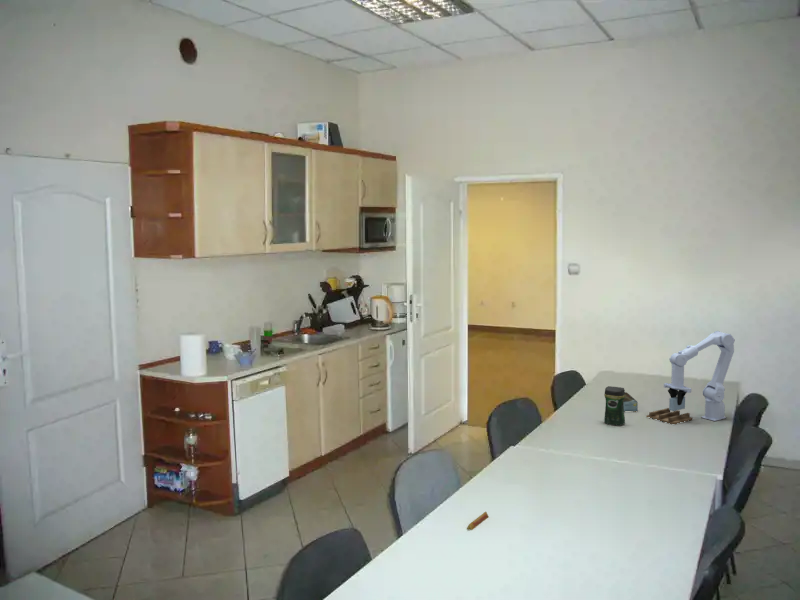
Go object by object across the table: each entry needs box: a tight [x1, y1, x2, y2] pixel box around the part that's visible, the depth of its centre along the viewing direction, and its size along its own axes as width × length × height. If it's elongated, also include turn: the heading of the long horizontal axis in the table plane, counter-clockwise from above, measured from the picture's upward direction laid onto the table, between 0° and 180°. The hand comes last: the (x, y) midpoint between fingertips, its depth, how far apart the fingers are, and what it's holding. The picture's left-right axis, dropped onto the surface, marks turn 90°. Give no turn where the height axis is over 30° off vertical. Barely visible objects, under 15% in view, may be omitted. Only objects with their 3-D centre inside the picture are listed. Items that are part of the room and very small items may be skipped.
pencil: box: [466, 511, 490, 531], centre depth 231 cm, size 3×12×2 cm, turn 146°
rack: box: [645, 407, 694, 425], centre depth 347 cm, size 15×16×3 cm
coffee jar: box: [603, 385, 626, 426], centre depth 340 cm, size 10×8×19 cm
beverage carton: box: [624, 391, 639, 412], centre depth 370 cm, size 8×19×7 cm, turn 178°
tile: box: [668, 396, 686, 412], centre depth 343 cm, size 9×2×6 cm, turn 122°
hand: (676, 404), depth 343 cm, fingers closed on tile, 2 cm apart
